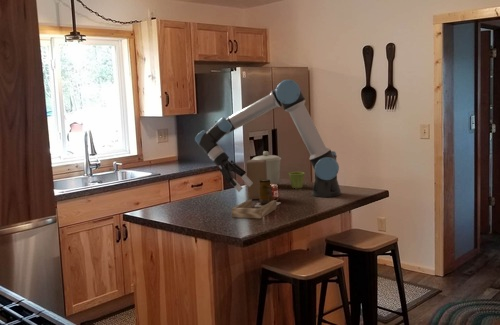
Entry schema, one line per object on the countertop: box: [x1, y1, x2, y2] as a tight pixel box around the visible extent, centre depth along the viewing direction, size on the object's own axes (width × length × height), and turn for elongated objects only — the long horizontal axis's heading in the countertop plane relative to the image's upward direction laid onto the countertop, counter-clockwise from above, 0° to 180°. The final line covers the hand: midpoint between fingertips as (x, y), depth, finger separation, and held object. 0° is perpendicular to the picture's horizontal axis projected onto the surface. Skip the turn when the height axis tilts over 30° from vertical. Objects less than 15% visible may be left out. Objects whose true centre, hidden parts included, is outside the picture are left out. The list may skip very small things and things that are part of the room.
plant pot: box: [288, 171, 306, 189], centre depth 300 cm, size 9×9×9 cm
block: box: [245, 159, 267, 200], centre depth 276 cm, size 10×10×20 cm
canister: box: [250, 150, 282, 185], centre depth 311 cm, size 18×18×21 cm
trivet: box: [254, 201, 282, 208], centre depth 257 cm, size 10×10×1 cm
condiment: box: [256, 179, 273, 206], centre depth 256 cm, size 7×8×12 cm
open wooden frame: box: [231, 199, 277, 219], centre depth 242 cm, size 14×20×4 cm
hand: (246, 187), depth 261 cm, fingers open, 13 cm apart
